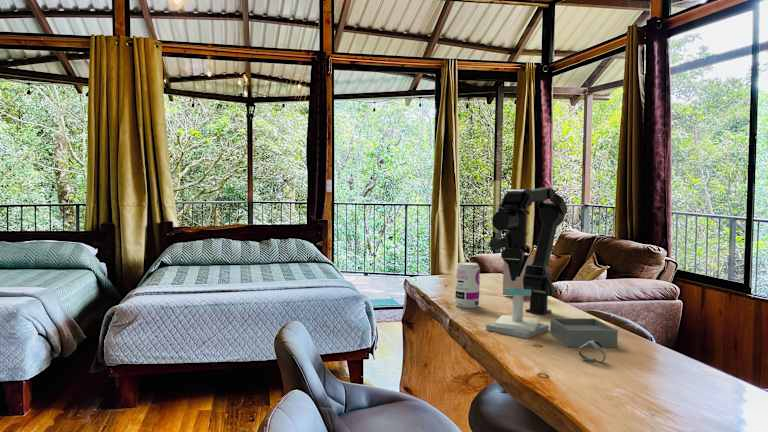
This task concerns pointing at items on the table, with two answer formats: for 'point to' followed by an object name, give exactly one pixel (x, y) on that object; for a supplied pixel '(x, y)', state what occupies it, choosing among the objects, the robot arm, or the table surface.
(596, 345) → the wristwatch
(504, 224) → the robot arm
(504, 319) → the cover
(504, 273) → the greeting card
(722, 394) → the table surface
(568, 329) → the housing
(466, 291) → the supplement can
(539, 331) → the pad
